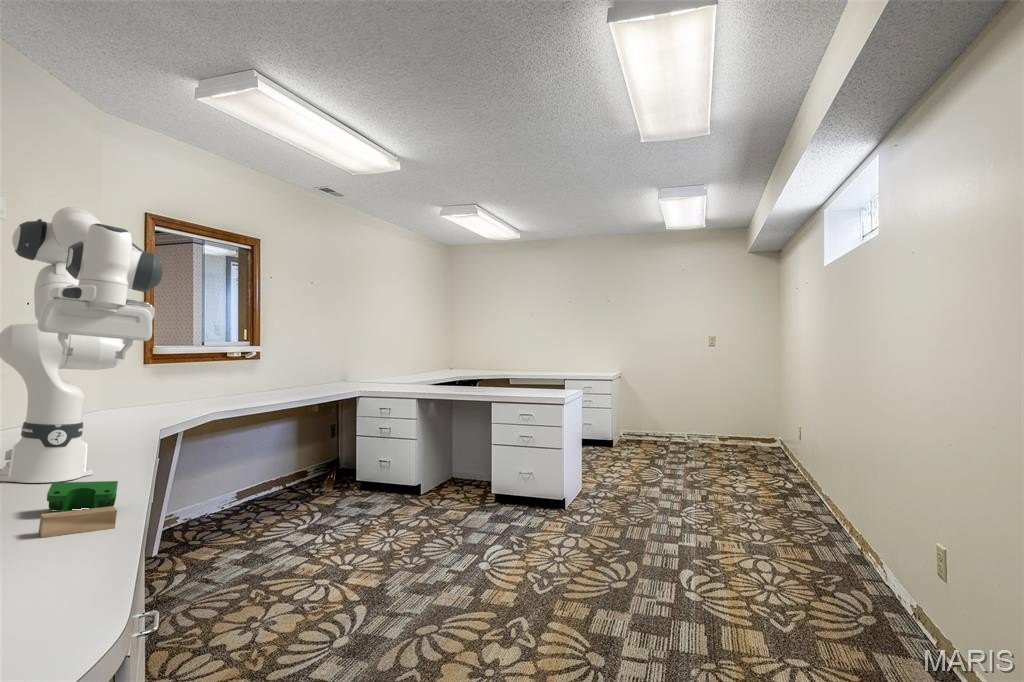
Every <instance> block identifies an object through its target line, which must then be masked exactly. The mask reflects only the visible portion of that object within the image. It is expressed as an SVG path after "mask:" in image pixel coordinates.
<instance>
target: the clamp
mask: <svg viewBox="0 0 1024 682" xmlns="http://www.w3.org/2000/svg"><path fill="white" fill-rule="evenodd" d="M118 482H119V481H118V480H114V481H113V480H110V481H109V480H107V481H105V480H104V481H103V480H102V481H72V482H71V481H67V482H65V481H59V482H51V485H50V487H49V489H48V491H47V494H46V502H48V509H49V510H62V511H61V512H63V511H70V510H71V511H72V509H81V508H89V509H91V508H100V507H109V506H113V507H115V504H116V499H117V491H118V485H119V483H118Z"/></svg>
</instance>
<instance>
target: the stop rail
mask: <svg viewBox="0 0 1024 682" xmlns="http://www.w3.org/2000/svg"><path fill="white" fill-rule="evenodd" d="M117 513H118V509H117V508H116V507H115V506H109V507H100V508H91V509H82V510H71V511H63V512H62V511H53V512H47V513H41V514H40V516H39V518H40V519H39V527H38V533H39V534H38V536H39V537H40V538H41V539H43V538H49V537H57V536H58V535H59V536H65V535H64V534H66V535H71V534H70V533H73V534H79V533H78V532H81V533H86V532H95V531H102V530H109V529H114V528H116V523H117Z"/></svg>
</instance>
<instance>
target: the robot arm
mask: <svg viewBox="0 0 1024 682" xmlns="http://www.w3.org/2000/svg"><path fill="white" fill-rule="evenodd" d="M132 238H133V237H132V233H131V232H130V231H128V230H127V229H125V228H121V227H116V226H112V225H107V224H104V223H102V222H101V221H100V220H99V218H97V216H95V215H94V214H93V213H91V212H90V211H88V210H86V209H84V208H81V207H77V206H66V207H63V208H61V209H58V210H57V211H56V212H55V213H54V215H53V216H52V219H51V222H46V221H43V220H42V218H38V219H37V220H29V221H25V222H22V223H20V224H19V225H18V226H17V227H16V228H15V230H14V231H13V234H12V239H11V242H12V247H13V248H14V252H15V253H16V255H17V256H18V257H21V258H23V259H26V260H29V261H37V262H42V263H45V264H49V265H46V266H43V268H41V269H40V270H39V272H38V274H37V276H36V278H35V283H34V290H33V294H34V295H33V298H34V300H33V301H34V304H33V305H34V316H35V319H36V320H37V323H19V324H10V325H8V326H6V327H5V328H4V329H3V330H1V332H0V359H1V360H2V361H3V362H5V363H6V364H8V365H9V366H10V367H12V368H13V369H14V370H16V372H17V373H18V374H19V375H20V376H21V378H22V380H23V381H24V383H25V386H26V391H27V408H26V416H25V421H24V422H23V423H22V427H21V433H20V436H21V438H20V439H19V441H18V442H17V443H15V445H13V446H12V449H11V448H10V449H8V450H6V451H5V455H4V460H5V461H7V462H5V463H6V465H4V466H3V467H2V468H1V470H0V482H11V483H12V482H13V483H15V482H16V483H25V484H26V483H27V484H29V483H30V484H37V483H38V484H40V483H41V484H44V483H58V482H65V481H67V482H68V481H71V480H76V479H79V478H82V477H87V476H91V475H93V470H92V469H89V468H87V459H88V458H87V457H88V443H86V442H85V441H84V440H83V439H82V436H83V431H84V422H83V421H82V420H83V413H84V406H85V400H86V395H85V393H84V391H83V390H82V389H81V388H80V387H78V386H77V385H75V384H73V383H70V382H68V381H66V380H64V379H62V378H61V377H60V375H59V370H62V369H64V370H65V369H66V370H81V371H82V370H86V371H96V370H106V369H107V370H108V369H113V368H115V367H117V366H118V365H119V364H120V363H121V362H122V360H125V358H126V353H127V352H128V350H129V349H130V348H131V347H132V346H133V344H134V343H133V342H134V341H141V342H148V341H150V339H152V336H153V320H154V318H155V312H156V310H155V307H154V306H153V305H152V304H149V302H147V301H139V300H135V299H127V298H128V289H129V290H133V291H136V292H142V293H146V292H149V291H150V290H153V289H154V288H156V287H158V285H160V284H161V280H162V277H163V264H162V262H161V261H160V259H159V258H158V257H157V256H156V254H154V252H149V251H144V250H143V249H141V248H140V247H139V246H137V245H136V244H135V243H134V242H133V239H132Z"/></svg>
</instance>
